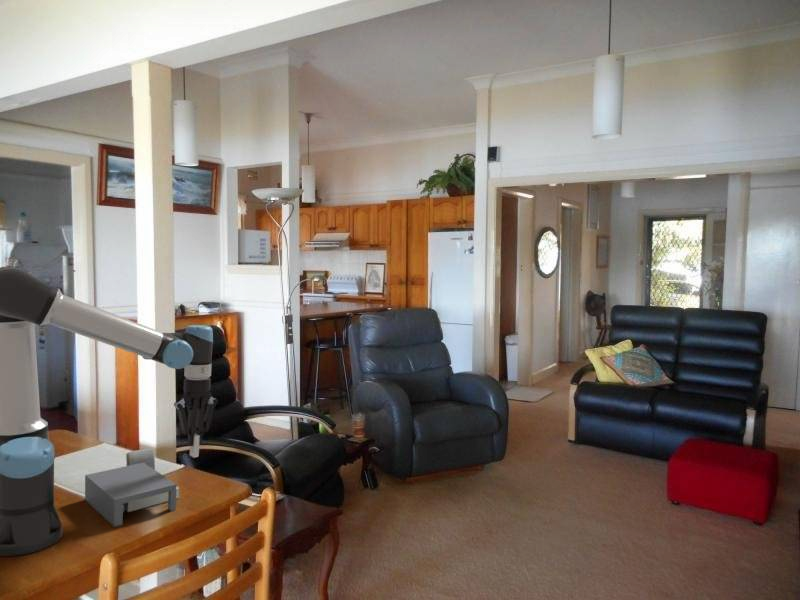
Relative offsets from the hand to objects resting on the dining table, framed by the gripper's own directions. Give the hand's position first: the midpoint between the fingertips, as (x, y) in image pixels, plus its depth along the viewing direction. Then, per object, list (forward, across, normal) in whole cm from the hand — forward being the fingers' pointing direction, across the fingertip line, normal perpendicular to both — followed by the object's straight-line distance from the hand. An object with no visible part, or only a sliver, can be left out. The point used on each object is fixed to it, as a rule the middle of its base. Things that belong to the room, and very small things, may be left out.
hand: (194, 455), depth 172 cm
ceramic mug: (+10, -7, +20) cm, 23 cm away
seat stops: (+10, -22, 0) cm, 24 cm away
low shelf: (+10, -18, 0) cm, 21 cm away
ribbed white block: (+10, -13, 0) cm, 17 cm away
